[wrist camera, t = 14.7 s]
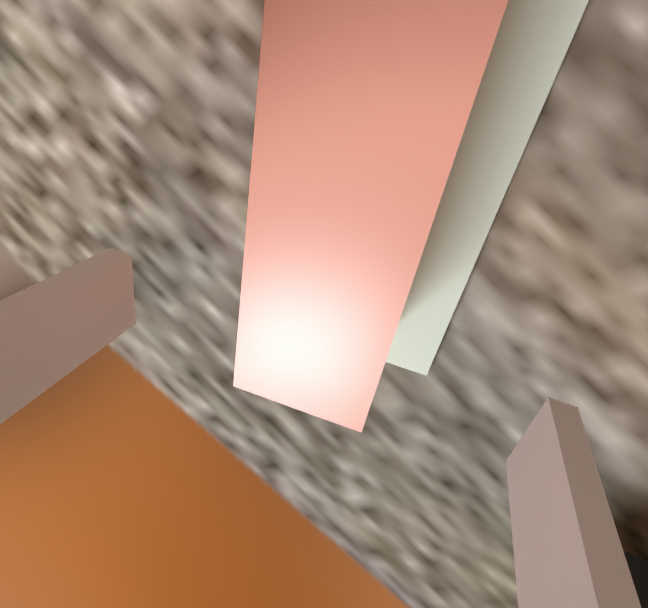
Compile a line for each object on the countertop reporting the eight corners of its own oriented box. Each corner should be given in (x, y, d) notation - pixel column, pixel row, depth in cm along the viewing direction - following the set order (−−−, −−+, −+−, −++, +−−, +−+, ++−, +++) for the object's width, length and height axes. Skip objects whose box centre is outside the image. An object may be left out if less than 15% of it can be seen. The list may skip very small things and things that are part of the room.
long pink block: (390, 328, 20) (361, 432, 15) (296, 298, 21) (233, 386, 15) (612, -342, 10) (828, -944, 4) (407, -355, 11) (336, -874, 5)
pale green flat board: (427, 368, 22) (426, 375, 21) (253, 309, 23) (248, 315, 23) (783, -460, 9) (802, -492, 8) (341, -474, 10) (335, -503, 10)
